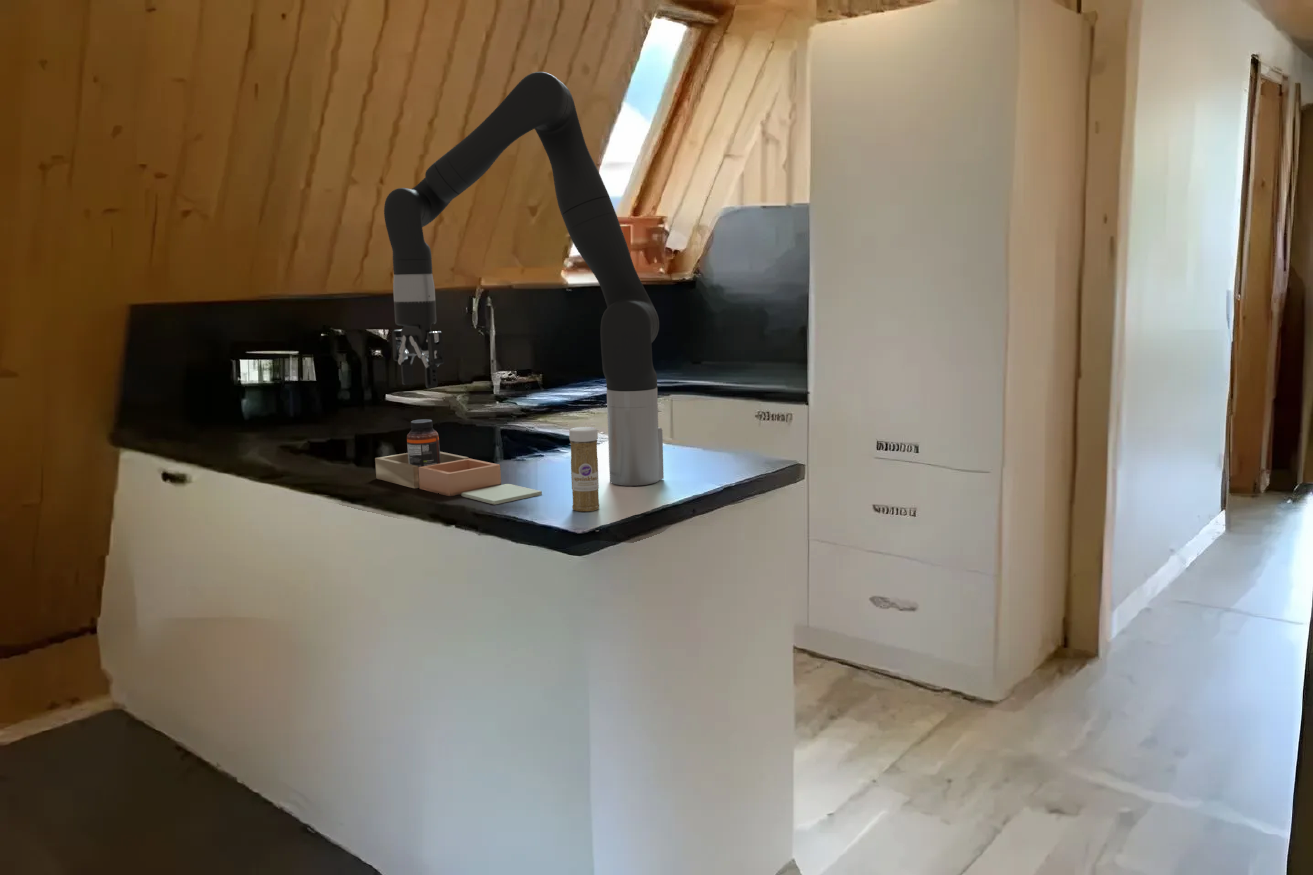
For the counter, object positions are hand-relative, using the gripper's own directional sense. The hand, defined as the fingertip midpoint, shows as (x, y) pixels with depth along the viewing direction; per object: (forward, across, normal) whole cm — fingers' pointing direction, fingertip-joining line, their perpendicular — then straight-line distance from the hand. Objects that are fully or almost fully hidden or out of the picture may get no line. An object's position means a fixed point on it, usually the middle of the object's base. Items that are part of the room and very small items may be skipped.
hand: (419, 385), depth 192 cm
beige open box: (+18, +1, 0) cm, 18 cm away
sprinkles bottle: (+18, -43, -4) cm, 47 cm away
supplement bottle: (+18, 0, 0) cm, 18 cm away
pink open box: (+18, -12, 0) cm, 22 cm away
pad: (+18, -24, -1) cm, 30 cm away
